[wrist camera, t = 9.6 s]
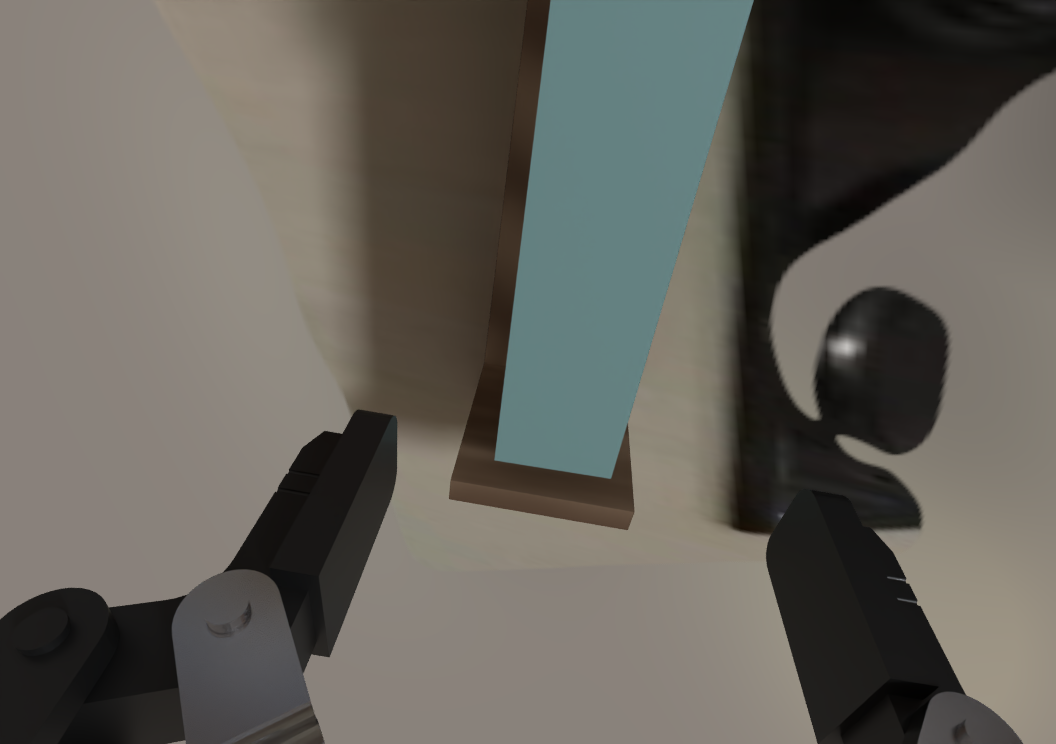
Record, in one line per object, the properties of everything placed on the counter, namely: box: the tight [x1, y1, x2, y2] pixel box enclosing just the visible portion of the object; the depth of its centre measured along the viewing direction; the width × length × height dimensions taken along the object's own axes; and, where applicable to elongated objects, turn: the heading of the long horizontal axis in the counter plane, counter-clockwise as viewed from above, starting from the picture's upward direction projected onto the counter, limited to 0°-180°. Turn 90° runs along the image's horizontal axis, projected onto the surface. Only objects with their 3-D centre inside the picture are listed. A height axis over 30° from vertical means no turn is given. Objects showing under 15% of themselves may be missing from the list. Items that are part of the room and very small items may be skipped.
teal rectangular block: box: [495, 0, 754, 479], centre depth 20 cm, size 18×5×4 cm, turn 173°
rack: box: [449, 0, 634, 530], centre depth 22 cm, size 26×8×10 cm, turn 172°
